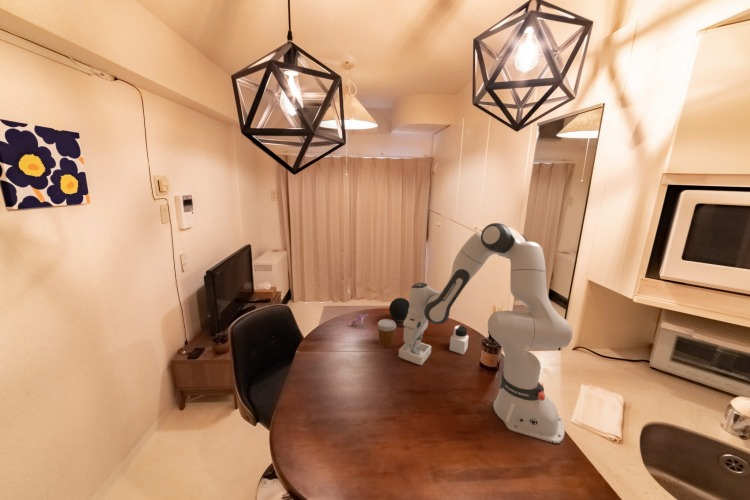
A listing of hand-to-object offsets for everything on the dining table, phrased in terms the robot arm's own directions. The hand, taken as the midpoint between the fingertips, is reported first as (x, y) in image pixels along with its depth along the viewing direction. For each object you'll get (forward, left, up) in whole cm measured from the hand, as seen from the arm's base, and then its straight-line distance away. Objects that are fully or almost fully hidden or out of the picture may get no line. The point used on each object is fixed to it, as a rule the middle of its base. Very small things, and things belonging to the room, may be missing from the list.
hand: (415, 343), depth 136 cm
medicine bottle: (-16, -17, -6) cm, 24 cm away
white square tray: (0, 0, -6) cm, 6 cm away
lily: (+37, -8, -6) cm, 39 cm away
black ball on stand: (+21, -25, -6) cm, 33 cm away
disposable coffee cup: (+16, 0, -6) cm, 17 cm away
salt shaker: (0, 0, -5) cm, 5 cm away
